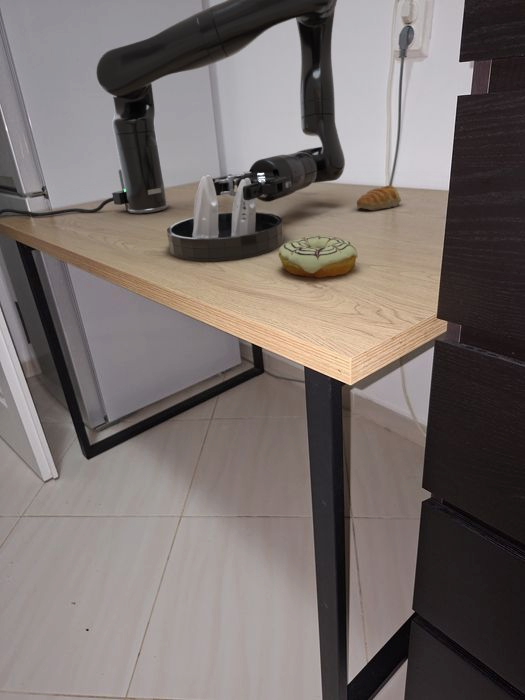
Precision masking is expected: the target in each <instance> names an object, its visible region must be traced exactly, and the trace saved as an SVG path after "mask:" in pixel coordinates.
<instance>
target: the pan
mask: <svg viewBox="0 0 525 700" xmlns="http://www.w3.org/2000/svg"><path fill="white" fill-rule="evenodd" d="M283 223H284V222H283V218H282V217H281V216H279V215H276V214H274V213H268V212H264V211H263V212H261V211H256V222H255V233H250V234H245V235H240V236H231V233H232V211H230V212H218V230H219V235H218V238H192V237H193V236H192V235H193V229H194V217H189V218H186V219H183V220H181V221H178V222H176V223H173V224H171V225H170V226H169V227H168V228H167V229H166V233H167V234H166V235H167V240H168V246H169V252H170V254H171V255H172V256H173V257H175V258H178V259H181V260H186V261H194V262H227V261H234V260H235V261H236V260H242V259H248V258H253V257H256V256H261V255H263V254H267V253H270V252H272V251H274V250H276V249H278V248H280V247H281V246H282V245H283V244H284V225H283Z"/></svg>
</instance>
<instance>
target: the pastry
mask: <svg viewBox="0 0 525 700" xmlns="http://www.w3.org/2000/svg"><path fill="white" fill-rule="evenodd" d="M401 201H402V197H401V196H400V193H399V191H398V190H397V188H396V187H395V186H393V185H386V186H381V187H377V188H373V189H370V190H368V191H367V192H366V193H365V194H363V195H361V196H360V197H359V198H358V199H357V201H356V208H357V209H365V210H369V211H377V210H383V209H390V208H392V207H393V208H395V207H398V206H399V204H400V203H401Z"/></svg>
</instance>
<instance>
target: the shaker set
mask: <svg viewBox="0 0 525 700" xmlns="http://www.w3.org/2000/svg"><path fill="white" fill-rule="evenodd" d="M212 179H213V177H212V175H211V174H207V175H204V176H202V177H201V179H200V180H199V184H198V187H197V190H196V194H195V197H194V203H193V218H194V229H193V235H192V236H193V237H192V238H218V235H219V230H218V213H219V201H218V196H217V195H216V191H215V187H214V183H213V180H212ZM250 184H251V181H250V179H249V178H245V180H244V179H243V180H241V182H240V184H239V186H238V189H237V188H236V189H237V190H236V191H235V192H236V196H234V199H233V203H232V209H231V212H232V233H231V236H240V235H245V234H250V233H255V222H256V212H257V206H256V205H257V204H256V198H254V199H251V200H244V198H243V187H244V186H246V185H250Z"/></svg>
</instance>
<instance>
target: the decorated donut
mask: <svg viewBox="0 0 525 700" xmlns="http://www.w3.org/2000/svg"><path fill="white" fill-rule="evenodd" d="M278 257H279V260H280V262H281V264H282V267H283V268H284V269H285V270H286V271H287V272H289V273H290V274H293V275H294V276H301V277H307V276H308V277H310V278H315V277H316V278H318V279H321V278H322V279H323V278H325V277H336V276H338V275H345V274H347V273H348V272H349V271H350V270H352V269H353V267H355V266H356V264H355V263H356V261H357V258H358V257H359V254H358V250H357V248H356V246H355V245H354V244H353V243H352V242H351V241H348V240H346V239H343V238H340V237H335V236H328V235H313V236H312V235H311V236H309V235H308V236H302V237H300V238H299V237H298V238H296V239H293V240H290V241H288V242H285V243H282V244H281V246H279V249H278Z"/></svg>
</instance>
